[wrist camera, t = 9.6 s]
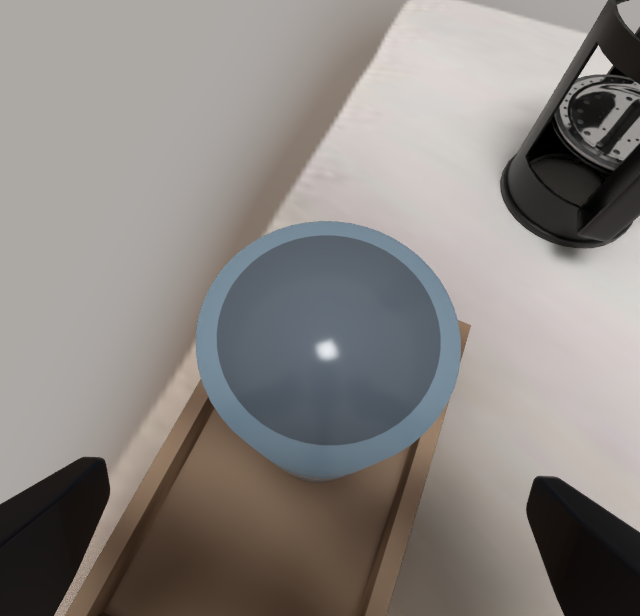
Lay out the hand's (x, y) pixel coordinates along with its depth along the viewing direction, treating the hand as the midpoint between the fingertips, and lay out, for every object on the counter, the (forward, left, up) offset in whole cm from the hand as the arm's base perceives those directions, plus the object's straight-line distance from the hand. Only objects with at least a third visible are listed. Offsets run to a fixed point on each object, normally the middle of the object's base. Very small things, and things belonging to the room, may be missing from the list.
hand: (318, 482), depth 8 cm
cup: (+4, -1, -13) cm, 13 cm away
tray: (+2, +1, -13) cm, 14 cm away
